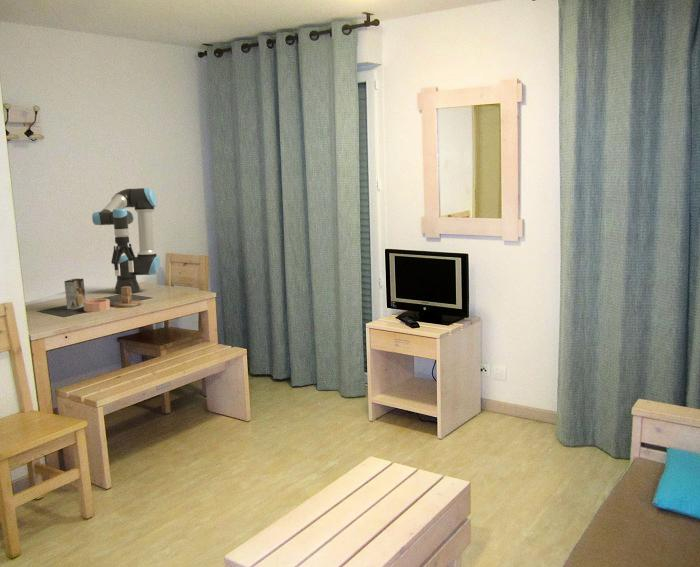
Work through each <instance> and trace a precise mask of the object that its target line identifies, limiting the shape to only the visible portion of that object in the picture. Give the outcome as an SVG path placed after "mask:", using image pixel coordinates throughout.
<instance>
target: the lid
mask: <svg viewBox="0 0 700 567" xmlns="http://www.w3.org/2000/svg"><path fill="white" fill-rule="evenodd" d="M120 295H121V296H120V297H121V300H118V301H114V302H113V303H112V305H111V306H113V307H112V308H127V307H132V308H134V306H135V307H139V306H141V305H143V304H142V303H143V301H142V300H139V299H133V297H132V296H133V293H132V292H131V287H129V286H125V287H121V294H120Z"/></svg>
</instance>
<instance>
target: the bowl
mask: <svg viewBox="0 0 700 567" xmlns="http://www.w3.org/2000/svg"><path fill="white" fill-rule="evenodd" d="M83 305H84V307H83V311H84V312H87V313H88V312H89V313H96V312H97V313H98V312H105V311H108V310H110V309H111V307H110V306H111V301H110V299H109V298H95V299H94V298H93V299H87V300H86V301H84V302H83Z"/></svg>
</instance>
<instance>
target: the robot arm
mask: <svg viewBox="0 0 700 567" xmlns="http://www.w3.org/2000/svg"><path fill="white" fill-rule="evenodd" d="M157 202H158V200H157V195H156V192H155V191H154V190H153V189H152V188H150V187H149V188H147V187H143V188H142V187H141V188H126V189H122V190H120V191H118V192H117V193H115V194H114V195H113V196H112V198H111V200H110V201H109V203H108V204H107V205H105V206H104V207H103V208H102V210H101V211H94V212H93V213H92V214H91V215H92V216H91V218H92V219H91V220H92V223H93V224H94V225H95V226H110V225H111V226H113V229H114V230H113V231H114V242H115V244H116V245H114V246H113V252H112V255H111V256H112V257H111V264H112V265H113V266H114V275H115V277H116V284H115V288H114V294H117V295H118V294H119V295H121V287H125V286H129V287H131V292H132V294H134V293H136V294H137V293H139V292H141V287H140V285H139V283H138V282H139V281H138V280H137V276H152V275H153V276H155V275H157V274H158V273H159V271H160V266H161V258H160V256H158V255H157V252H156V251H155V250H154V248H155V247H154V231H153V230H154V229H153V215H152V214H153V212H154V210H155V208H157V205H158V203H157ZM127 208H134V211H135V212H136V213H137V228H138V229H137V230H138V245H139V246H138V247H139V251H138V253H137V256H136V255H135V253H134V250H133V248H132V243H130V236H129V235H130V232H129V225H130V224H132V223H133V222H134V221H135V214H134V213H133V212H132V211H130V210H128V209H127ZM123 254H125V255H123Z"/></svg>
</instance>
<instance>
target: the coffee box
mask: <svg viewBox="0 0 700 567" xmlns="http://www.w3.org/2000/svg"><path fill="white" fill-rule="evenodd" d="M64 290H65V299H66V301H65V302H66V309H67V310H76V309H77V310H78V309H80V308H84V305H83V302H84V301H87V300H86V292H85V281H84V278H71V279H67V280H64Z"/></svg>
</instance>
